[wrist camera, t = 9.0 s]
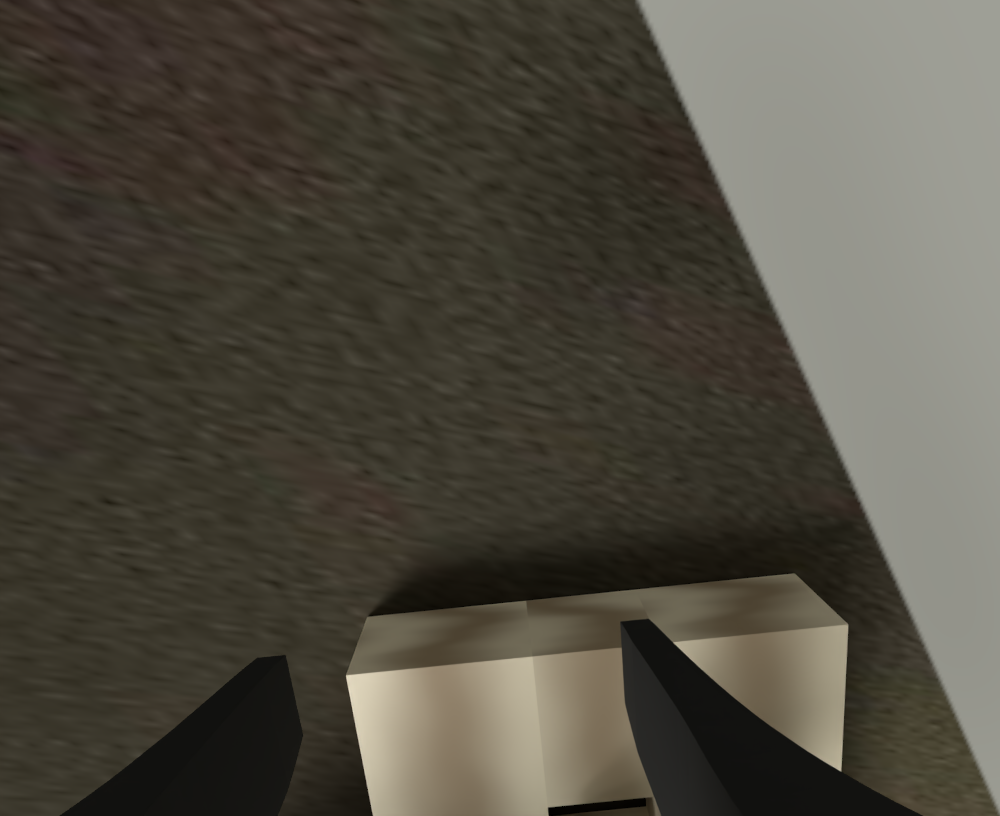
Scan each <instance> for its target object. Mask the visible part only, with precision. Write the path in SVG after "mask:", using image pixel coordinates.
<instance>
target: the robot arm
mask: <svg viewBox="0 0 1000 816" xmlns="http://www.w3.org/2000/svg"><path fill="white" fill-rule="evenodd" d="M620 628H621V646H622V663H623V681H624V698H625V706H626V710H627V714H628V718H629V722H630V725H631V729H632V733H633V737H634V741H635V744H636V748H637V752H638V755H639V758H640V760H641V763H642V766H643V768H644V771H645V774H646V776H647V779H648V782H649V784H650V787H651V790H652V792H653V795H654V798H655V800H656V803H657V806H658V808H659V811H660V814H661V816H922V815H920V814H918V813H916V812H914V811H912V810H910V809H908V808H906V807H904V806H902V805H900V804H898V803H896V802H894V801H892V800H891V799H889V798H887V797H885V796H883V795H881V794H880V793H878V792H876V791H874V790H872V789H870V788H868V787H867V786H865V785H863V784H861V783H860V782H858V781H856V780H854V779H853V778H851V777H849V776H848V775H846V774H844V773H843V772H841V771H839V770H837V769H836V768H834V767H832V766H831V765H829V764H827V763H826V762H824V761H822V760H821V759H819V758H818V757H816V756H814V755H813V754H811V753H810V752H808V751H807V750H805V749H803V748H802V747H800V746H799V745H798V744H796V743H795V742H793V741H792V740H790V739H789V738H787V737H786V736H784V735H783V734H782V733H780V732H779V731H777V730H776V729H774V728H773V727H771V726H770V725H769V724H767V723H766V722H765V721H763V720H762V719H760V718H759V717H758V716H756V715H755V714H754V713H753V712H751V711H750V710H749V709H748V708H746V707H745V706H744V705H743V704H741V703H740V702H739V701H738V700H736V699H735V698H734V697H733V696H732V695H730V694H729V693H728V692H727V691H726V690H724V689H723V688H722V687H721V686H720V685H719V684H717V683H716V682H715V681H714V680H713V679H712V678H711V677H710V676H709V675H707V674H706V673H705V672H704V671H703V670H702V669H701V668H700V667H698V666H697V665H696V664H695V663H694V662H693V661H692V660H691V659H690V658H689V657H688V656H687V655H686V654H685V653H684V652H683V651H682V650H680V649H679V648H678V647H677V646H676V645H675V644H674V643H673V642H672V641H671V640H670V639H669V638H668V637H667V636H666V635H665V634H664V633H663V632H662V631H661V630H660V629H659V628H658V627H657V626H656V625H655V624H654V623H653V622H652V621H651V620H650V619H640V620H630V621H620ZM302 737H303V733H302V728H301V724H300V719H299V715H298V710H297V705H296V701H295V696H294V692H293V687H292V682H291V678H290V673H289V669H288V664H287V660H286V655H282V656H272V657H262V658H257V659H255V660H254V661H253V662H252V663H250V664H249V665H248V666H246V667H245V668H244V669H243V670H242V671H240V672H239V673H238V674H237V675H236V676H234V677H233V678H232V679H231V680H230V681H229V682H228V683H226V684H225V685H224V686H223V687H222V688H221V689H219V690H218V691H217V692H216V693H215V694H214V695H213V696H211V697H210V698H209V699H208V700H207V701H206V702H204V703H203V704H202V705H201V706H200V707H199V708H197V709H196V710H195V711H194V712H193V713H192V714H190V715H189V716H188V717H187V718H186V719H185V720H183V721H182V722H181V723H180V724H179V725H178V726H176V727H175V728H174V729H173V730H172V731H171V732H169V733H168V734H167V735H166V736H164V737H163V738H162V739H161V740H159V741H158V742H157V743H156V744H154V745H153V746H152V747H151V748H149V749H148V750H147V751H146V752H144V753H143V754H142V755H141V756H139V757H138V758H137V759H136V760H134V761H133V762H132V763H131V764H129V765H128V766H127V767H126V768H125V769H123V770H122V771H121V772H119V773H118V774H117V775H115V776H114V777H113V778H112V779H110V780H109V781H108V782H106V783H105V784H104V785H102V786H101V787H99V788H98V789H97V790H95V791H94V792H93V793H91V794H90V795H89V796H87V797H86V798H84V799H83V800H81V801H80V802H79V803H77V804H76V805H74V806H73V807H71V808H70V809H69V810H67V811H66V812H64V813H63V814H62V815H60V816H278V813H279V811H280V808H281V806H282V803H283V801H284V798H285V795H286V793H287V790H288V788H289V784H290V781H291V778H292V774H293V771H294V767H295V764H296V760H297V756H298V752H299V749H300V745H301V741H302Z"/></svg>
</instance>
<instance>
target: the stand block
mask: <svg viewBox="0 0 1000 816" xmlns="http://www.w3.org/2000/svg"><path fill="white" fill-rule="evenodd" d="M640 619H650V620H651V621H652V622H653V623H654V624H655V625H656V626H657V627H658V628H659V629H660V630H661V631H662V632H663V633H664V634H665V635H666V636H667V637H668V638H669V639H670V640H671V641H672V642H673V643H674V644H675V645H676V646H677V647H678V648H679V649H680V650H682V651H683V652H684V653H685V654H686V655H687V656H688V657H689V658H690V659H691V660H692V661H693V662H694V663H695V664H696V665H697V666H698V667H700V668H701V669H702V670H703V671H704V672H705V673H706V674H707V675H709V676H710V677H711V678H712V679H713V680H714V681H715V682H716V683H717V684H719V685H720V686H721V687H722V688H723V689H724V690H726V691H727V692H728V693H729V694H730V695H732V696H733V697H734V698H735V699H736V700H738V701H739V702H740V703H741V704H743V705H744V706H745V707H746V708H748V709H749V710H750V711H751V712H753V713H754V714H755V715H756V716H758V717H759V718H760V719H762V720H763V721H765V722H766V723H767V724H769V725H770V726H771V727H773V728H774V729H776V730H777V731H779V732H780V733H782V734H783V735H784V736H786V737H787V738H789V739H790V740H792V741H793V742H795V743H796V744H798V745H799V746H800V747H802V748H803V749H805V750H807V751H808V752H810V753H811V754H813V755H814V756H816V757H818V758H819V759H821V760H822V761H824V762H826V763H827V764H829V765H831V766H832V767H834V768H836V769H837V770H839V771H841V766H842V745H843V725H844V704H845V684H846V663H847V643H848V624H847V623H846V622H845V621H844V620H843V619H842V618H841V617H840V616H839V615H838V614H837V613H836V612H835V611H834V610H833V609H832V608H830V607H829V606H828V605H827V604H826V603H825V602H824V601H823V600H822V599H821V598H820V597H819V596H818V595H817V594H816V593H815V592H814V591H813V590H812V589H811V588H809V587H808V586H807V585H806V584H805V583H804V582H803V581H802V580H801V579H800V578H799V577H798V576H797V575H796V574H795V573H793V574H783V575H773V576H763V577H754V578H744V579H734V580H724V581H714V582H705V583H695V584H685V585H675V586H665V587H655V588H646V589H636V590H626V591H616V592H606V593H596V594H587V595H577V596H567V597H557V598H547V599H538V600H528V601H518V602H508V603H498V604H488V605H479V606H469V607H459V608H449V609H439V610H429V611H420V612H410V613H400V614H390V615H380V616H371V617H367V619H366V622H365V625H364V628H363V630H362V633H361V636H360V638H359V641H358V644H357V647H356V649H355V652H354V655H353V658H352V660H351V663H350V666H349V669H348V671H347V674H346V678H347V683H348V689H349V694H350V699H351V704H352V709H353V715H354V720H355V725H356V730H357V735H358V741H359V746H360V751H361V756H362V761H363V767H364V772H365V777H366V782H367V787H368V793H369V798H370V803H371V808H372V813H373V816H549V814H548V807H557V806H567V805H577V804H587V803H597V802H607V801H617V800H627V799H637V798H646V806H645V807H635V808H625V809H615V810H605V811H595V812H585V813H575V814H565V815H555V816H661V814H660V811H659V808H658V806H657V803H656V800H655V798H654V795H653V792H652V790H651V787H650V784H649V782H648V779H647V776H646V774H645V771H644V768H643V766H642V763H641V760H640V758H639V755H638V752H637V748H636V744H635V741H634V737H633V733H632V729H631V725H630V722H629V718H628V714H627V710H626V706H625V698H624V681H623V663H622V646H621V628H620V621H630V620H640Z"/></svg>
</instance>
